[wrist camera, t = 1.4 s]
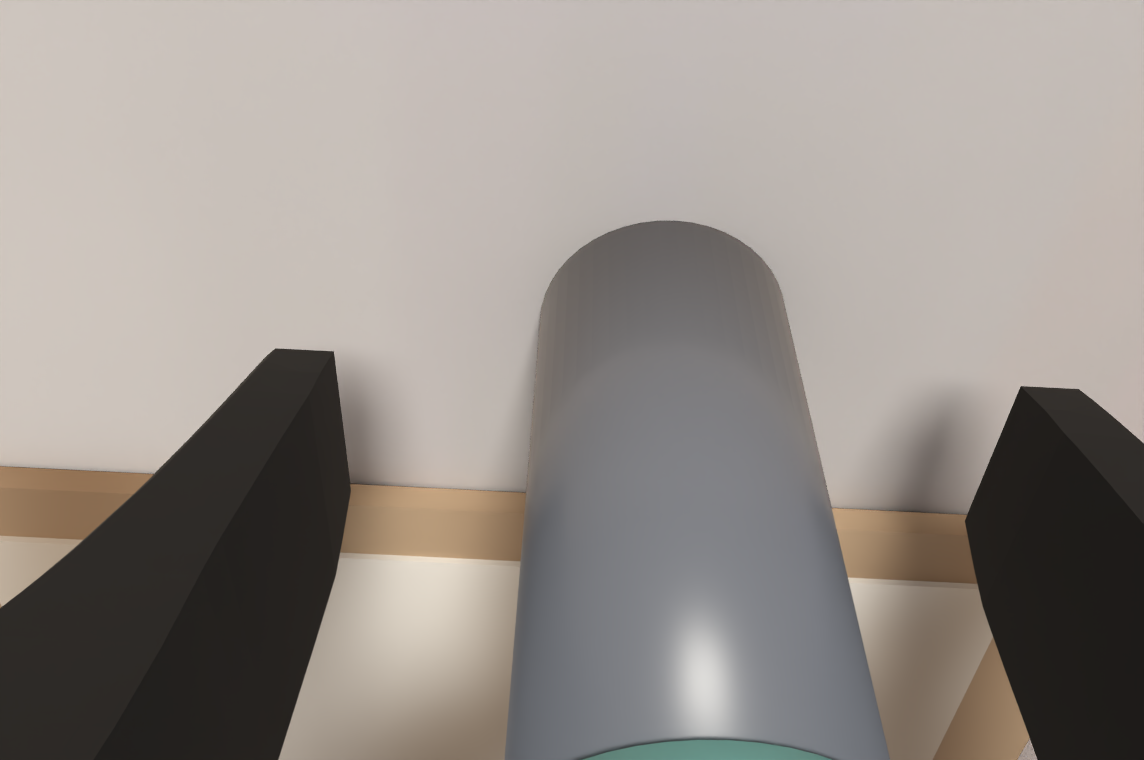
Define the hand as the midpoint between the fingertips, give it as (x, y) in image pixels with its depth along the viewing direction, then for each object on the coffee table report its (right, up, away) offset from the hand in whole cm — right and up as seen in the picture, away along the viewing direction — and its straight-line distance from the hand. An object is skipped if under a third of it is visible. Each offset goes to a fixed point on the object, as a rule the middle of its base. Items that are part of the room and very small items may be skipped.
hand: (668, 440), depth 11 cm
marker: (0, +1, +2) cm, 2 cm away
